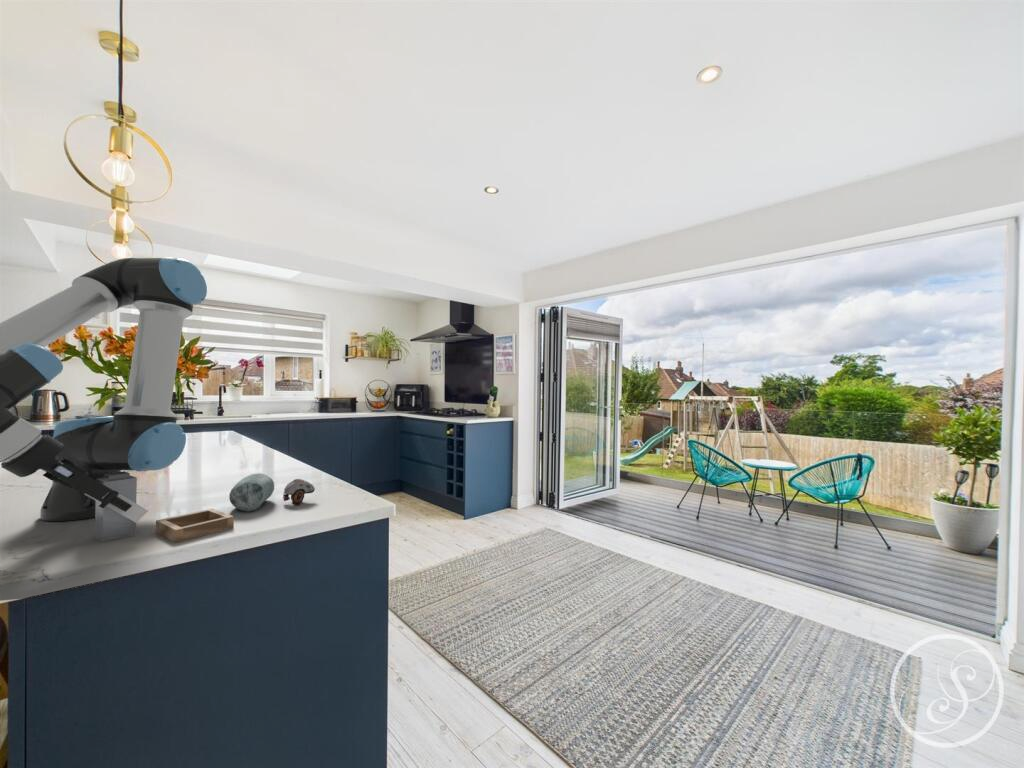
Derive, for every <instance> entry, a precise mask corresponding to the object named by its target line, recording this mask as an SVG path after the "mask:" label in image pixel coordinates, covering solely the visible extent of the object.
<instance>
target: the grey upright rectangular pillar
mask: <svg viewBox="0 0 1024 768" xmlns="http://www.w3.org/2000/svg"><path fill="white" fill-rule="evenodd" d="M137 479H138V477H136V476H132V475H131V474H130V472H128V471H126V470H122V471H121V472H116V473H108V474H104V478H100V479H96V481H98V482H99V483H101V484H103V485H105V486H107V487H108V488H110V489H112V490H114V491H117V492H118V493H119V494H121V495H123V496H124V497H126V498H128V499H129V500H131V501H133V502H134V503H136V504H137V489H138V487H137V486H138V485H137V481H138V480H137ZM109 493H110V492H108V493H107V494H106V495H105V496H107V495H108V494H109ZM105 496H104V497H105ZM104 497H103V498H104ZM103 498H102V499H103ZM100 504H101V502H100V501H98V500H97V499H96V510H95V517H94V519H95V520H94V538H95V539H96V540H98V541H99V542H101V543H107V542H110V541H115V540H116V541H117V540H119V539H124V538H129V537H133V536H136V535H137V534H136V532H137V531H136V530H137V529H136V528H137V527H136V526H137V523H136V522H134V521H132V520H130V519H128V518H127V517H125V516H123V515H121V514H119V513H118V512H116V511H114V510H112V509H111V508H109V507H107V506H105V507H104V508H101V507H99V505H100Z"/></svg>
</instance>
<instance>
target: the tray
mask: <svg viewBox="0 0 1024 768" xmlns="http://www.w3.org/2000/svg"><path fill="white" fill-rule="evenodd" d="M234 520H235V517H234V515H232V514H231V515H230V514H228V513H225V512H222V511H220V510H218V509H215V508H208V509H205V510H204V509H203V510H200V511H195V512H191V513H186V514H180V515H175V516H172V517H166V518H162V519H157V520H156V522H155V533H156V534H158V535H160V536H162V537H164V538H166V539H167V540H170V541H172V542H174V543H180V542H183V541H187V540H191V539H195V538H199V537H203V536H207V535H211V534H215V533H219V532H221V531H222V532H224V531H226V530H230V529H234V526H235V522H234Z"/></svg>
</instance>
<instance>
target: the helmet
mask: <svg viewBox="0 0 1024 768" xmlns="http://www.w3.org/2000/svg"><path fill="white" fill-rule="evenodd" d="M315 490H316V488H315V485H313V484H312V483H311V482H310V481H308V480H305V479H301V478H297V479H295V478H294V479H293V481H290V482H289V483H287V485H286V486H285V487H284V489H283V495H282V500H283V501H284V502H286V501H290V500H291V501H292V502H291V503H292V504H293V505H294V506H299V505H301V504H302V503H303V501H304V499H305V495H306V494H313V493H314V492H315Z"/></svg>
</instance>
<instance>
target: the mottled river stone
mask: <svg viewBox="0 0 1024 768" xmlns="http://www.w3.org/2000/svg"><path fill="white" fill-rule="evenodd" d="M274 490H275V482H274V480H273V479H272V477H271V476H269V475H268V474H264V473H262V472H261V473H259V472H258V473H252V474H249V475H247V476H245V477H242V479H240V480H239V481H238V482H237V483H236V484H234V486H233V487H232V488H231V490H230V492H229V495H228V497H229V502H230V503H231V505H232V506H233V507H234V508H236V509H238V510H239V511H243V512H252V511H255V510H257V509H259V508H260V507H261V506H262V505H263V504H264V502H266V500H268V499H269V498H271V496H272V495H273V493H274Z"/></svg>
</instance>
